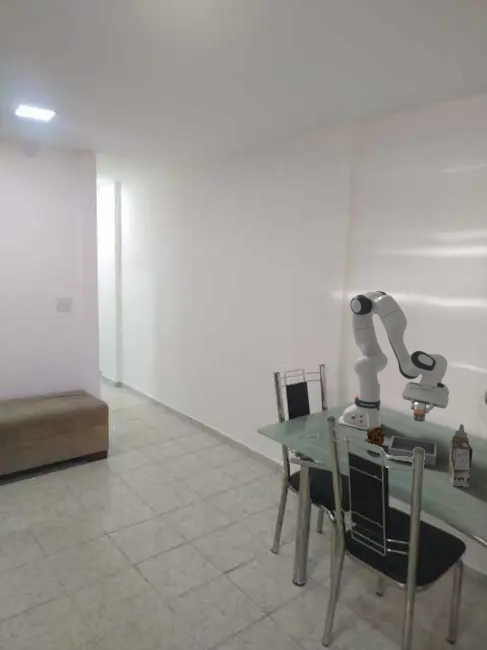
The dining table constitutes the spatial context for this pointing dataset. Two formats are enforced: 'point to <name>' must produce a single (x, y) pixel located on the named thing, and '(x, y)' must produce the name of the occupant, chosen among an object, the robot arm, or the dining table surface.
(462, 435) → the squeeze bottle
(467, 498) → the dining table surface
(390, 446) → the box
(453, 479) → the coffee box
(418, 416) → the grey capped jar
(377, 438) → the wooden carving
